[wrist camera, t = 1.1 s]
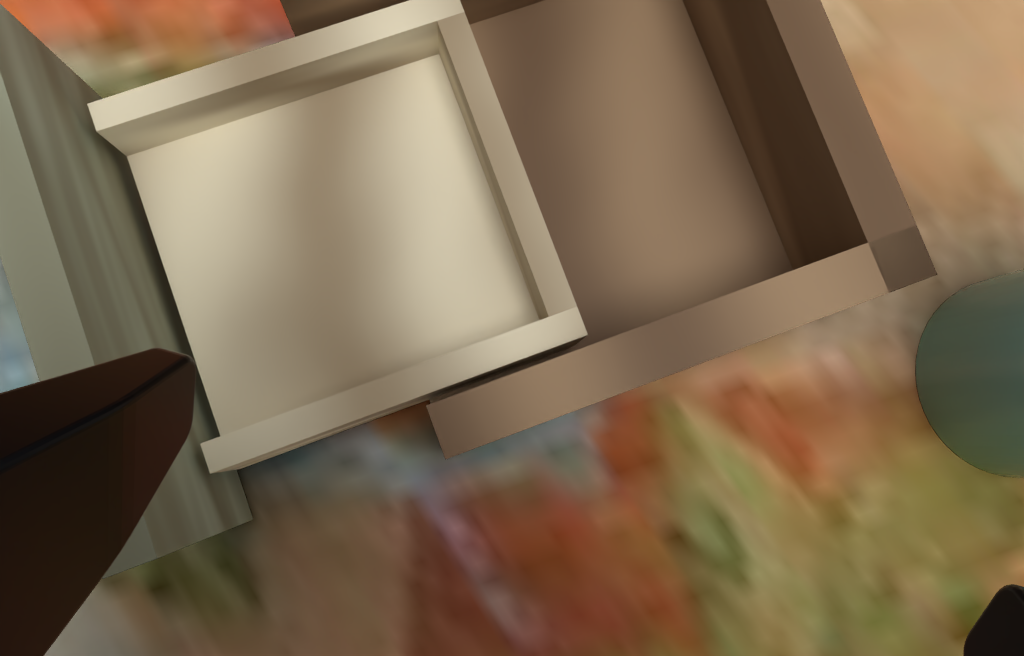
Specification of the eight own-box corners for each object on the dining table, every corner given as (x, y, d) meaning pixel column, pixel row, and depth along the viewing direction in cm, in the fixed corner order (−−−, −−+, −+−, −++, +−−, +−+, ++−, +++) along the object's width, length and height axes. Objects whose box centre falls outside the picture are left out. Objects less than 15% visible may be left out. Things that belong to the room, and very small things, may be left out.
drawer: (440, 6, 24) (430, -165, 17) (587, 394, 23) (640, 377, 16) (80, 123, 23) (-84, -10, 16) (216, 533, 22) (102, 579, 15)
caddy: (682, -74, 25) (736, -198, 20) (839, 307, 24) (936, 274, 19) (303, 49, 24) (261, -51, 19) (449, 454, 23) (445, 459, 18)
